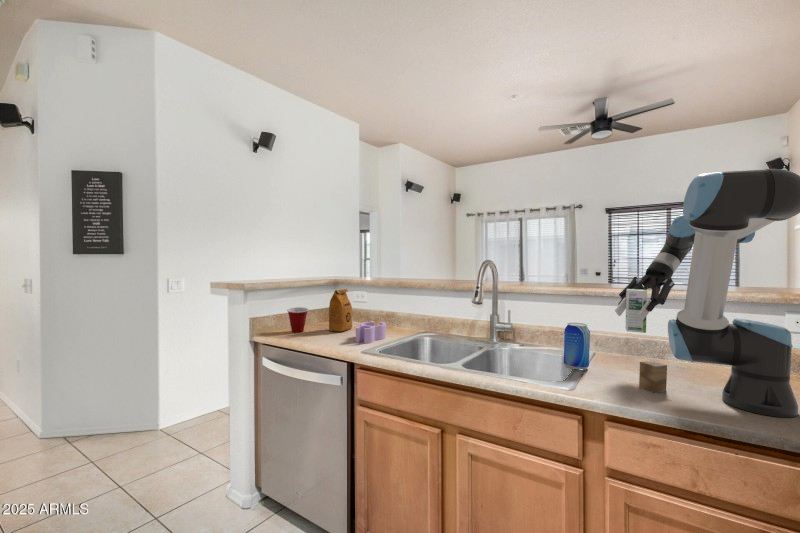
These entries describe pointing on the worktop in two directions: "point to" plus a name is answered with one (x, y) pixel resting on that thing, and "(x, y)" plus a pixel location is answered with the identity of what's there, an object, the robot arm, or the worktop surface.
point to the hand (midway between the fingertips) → (628, 315)
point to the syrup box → (635, 310)
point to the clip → (370, 332)
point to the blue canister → (576, 346)
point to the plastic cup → (297, 318)
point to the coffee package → (340, 312)
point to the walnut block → (653, 376)
